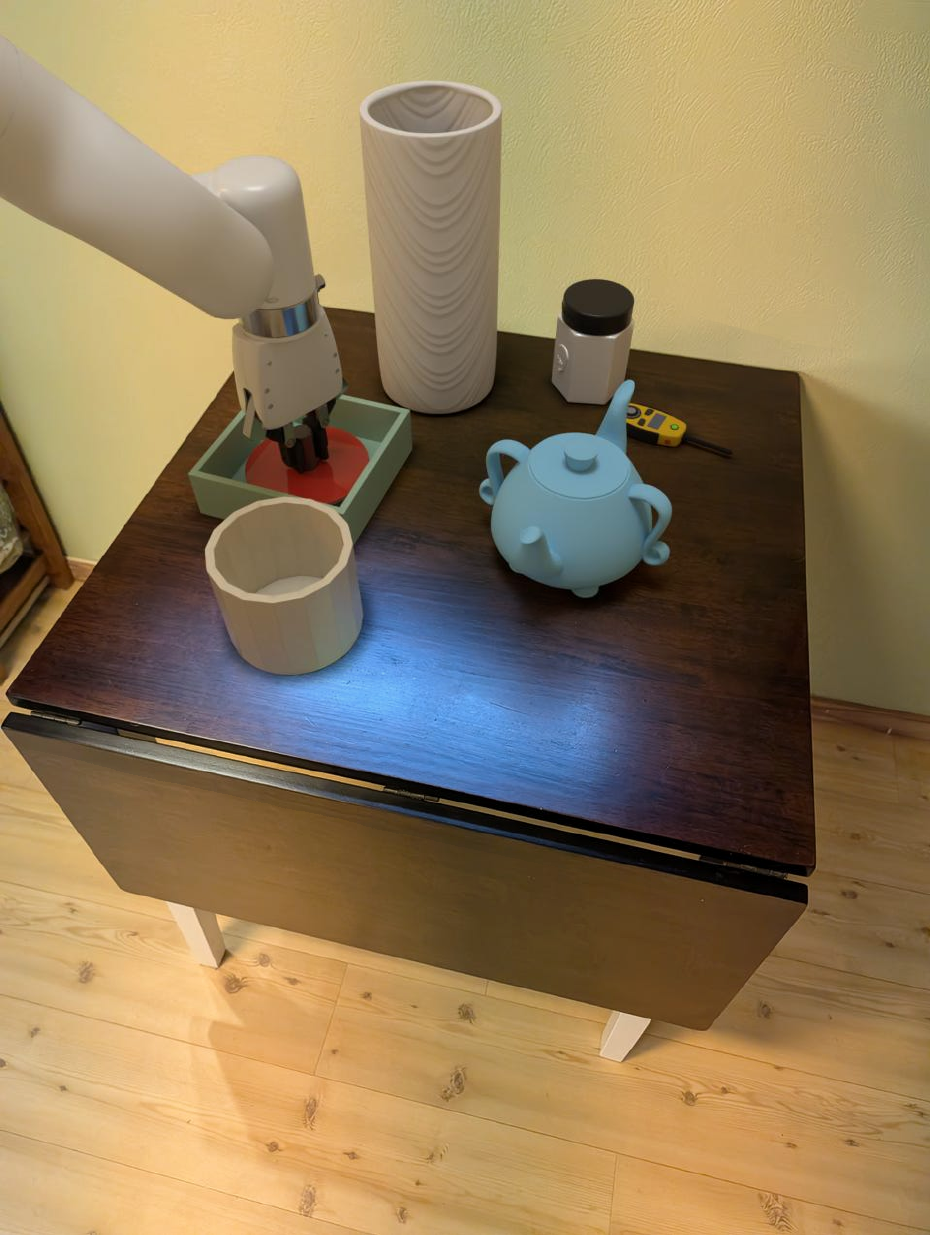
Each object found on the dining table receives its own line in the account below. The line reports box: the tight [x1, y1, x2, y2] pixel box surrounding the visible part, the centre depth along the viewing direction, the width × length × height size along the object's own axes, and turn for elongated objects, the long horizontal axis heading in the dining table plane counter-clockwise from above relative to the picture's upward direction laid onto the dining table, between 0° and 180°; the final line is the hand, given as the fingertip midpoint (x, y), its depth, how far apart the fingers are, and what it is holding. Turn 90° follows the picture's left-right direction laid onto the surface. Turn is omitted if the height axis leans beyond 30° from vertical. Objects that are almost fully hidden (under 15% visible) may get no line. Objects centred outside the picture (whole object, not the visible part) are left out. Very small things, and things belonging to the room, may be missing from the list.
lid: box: [245, 424, 370, 505], centre depth 91 cm, size 14×14×6 cm
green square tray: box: [187, 394, 413, 547], centre depth 92 cm, size 18×18×6 cm
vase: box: [358, 80, 503, 415], centre depth 93 cm, size 14×14×32 cm
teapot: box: [478, 379, 673, 599], centre depth 82 cm, size 16×20×14 cm
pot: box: [204, 496, 364, 676], centre depth 77 cm, size 13×13×10 cm
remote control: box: [626, 402, 734, 456], centre depth 98 cm, size 5×2×15 cm
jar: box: [551, 278, 635, 406], centre depth 101 cm, size 9×8×12 cm
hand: (306, 459), depth 92 cm, fingers closed on lid, 2 cm apart
